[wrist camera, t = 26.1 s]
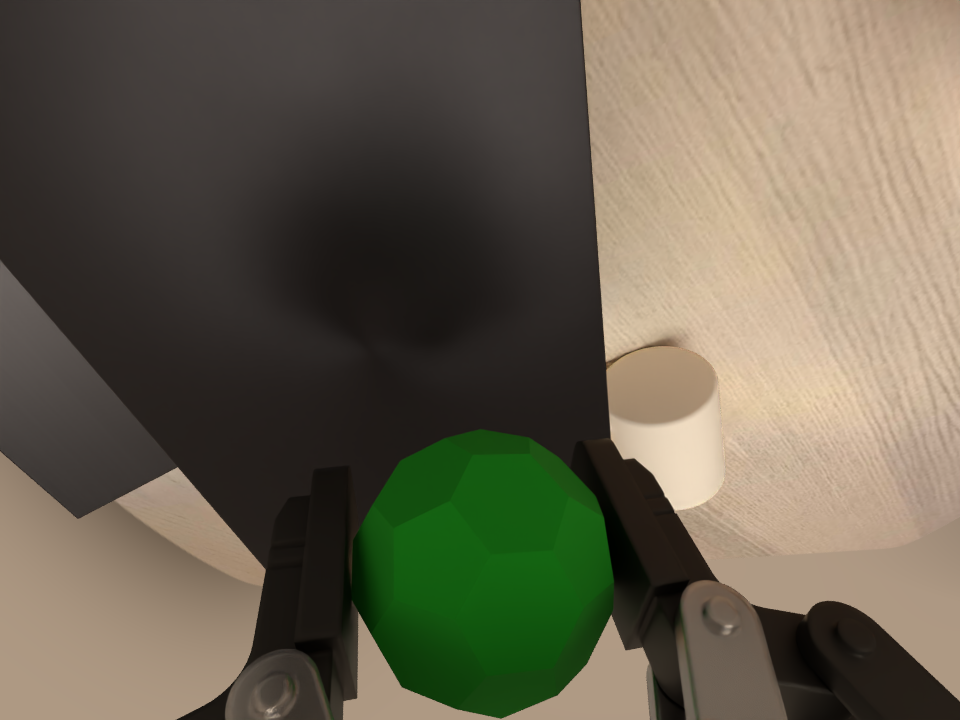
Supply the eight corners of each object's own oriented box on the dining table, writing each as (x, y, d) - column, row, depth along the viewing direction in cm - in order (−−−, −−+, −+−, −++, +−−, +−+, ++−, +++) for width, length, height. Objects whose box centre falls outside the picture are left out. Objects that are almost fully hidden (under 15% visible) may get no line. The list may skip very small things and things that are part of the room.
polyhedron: (606, 451, 12) (714, 653, 9) (467, 557, 14) (505, 770, 10) (460, 344, 10) (521, 566, 6) (309, 489, 11) (279, 741, 7)
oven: (106, 10, 22) (-209, 19, 10) (460, -81, 22) (569, -178, 10) (310, 386, 35) (280, 587, 23) (531, 325, 36) (614, 490, 23)
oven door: (74, 51, 25) (-239, 128, 21) (63, 47, 20) (-351, 147, 16) (261, 365, 37) (84, 450, 33) (284, 412, 32) (77, 519, 28)
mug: (680, 330, 38) (743, 396, 32) (692, 417, 44) (747, 488, 38) (533, 390, 39) (566, 466, 33) (564, 468, 45) (597, 545, 39)
